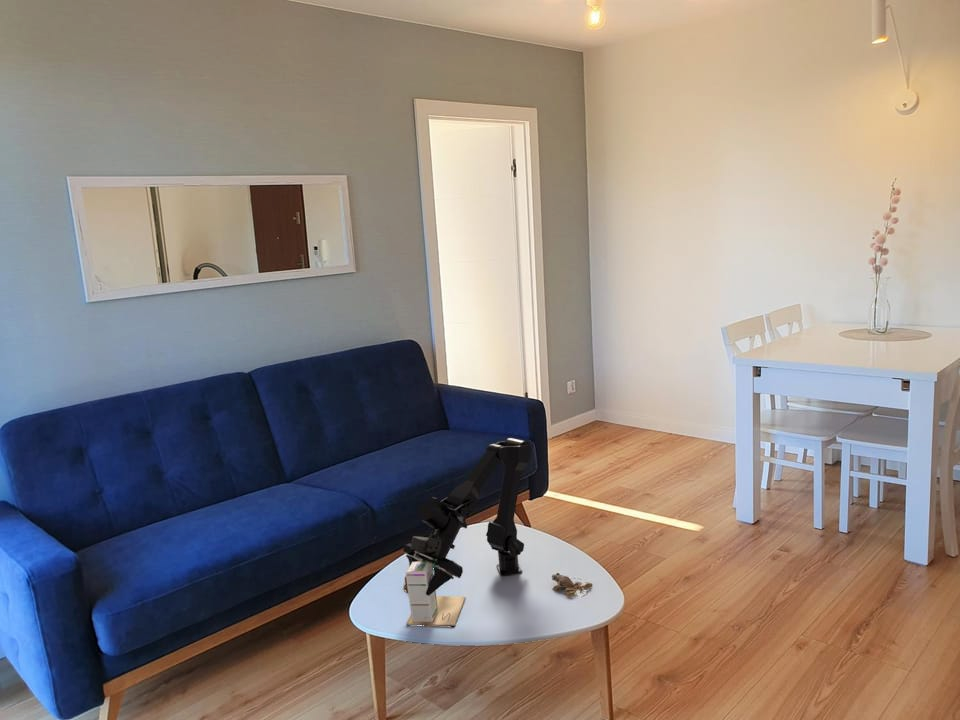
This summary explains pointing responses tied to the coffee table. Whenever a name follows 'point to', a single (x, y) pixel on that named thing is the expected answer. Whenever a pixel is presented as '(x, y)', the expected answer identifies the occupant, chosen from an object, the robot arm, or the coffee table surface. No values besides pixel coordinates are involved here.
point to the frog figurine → (570, 585)
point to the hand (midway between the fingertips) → (417, 590)
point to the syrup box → (421, 592)
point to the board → (444, 612)
